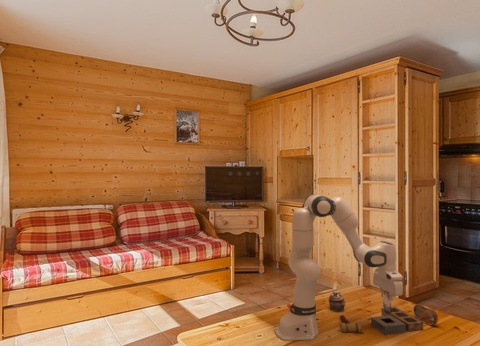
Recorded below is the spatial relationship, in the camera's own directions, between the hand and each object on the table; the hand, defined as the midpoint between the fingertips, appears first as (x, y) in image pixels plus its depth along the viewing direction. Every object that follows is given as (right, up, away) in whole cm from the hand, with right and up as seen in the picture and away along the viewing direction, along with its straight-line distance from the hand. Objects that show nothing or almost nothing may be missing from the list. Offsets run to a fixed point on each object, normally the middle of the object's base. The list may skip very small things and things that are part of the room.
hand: (386, 298), depth 181 cm
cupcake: (-19, -16, +26) cm, 36 cm away
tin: (+24, -16, +7) cm, 30 cm away
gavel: (-20, -16, +5) cm, 26 cm away
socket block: (+1, -15, 0) cm, 15 cm away
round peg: (0, -7, 0) cm, 7 cm away
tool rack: (+11, -15, +7) cm, 20 cm away
